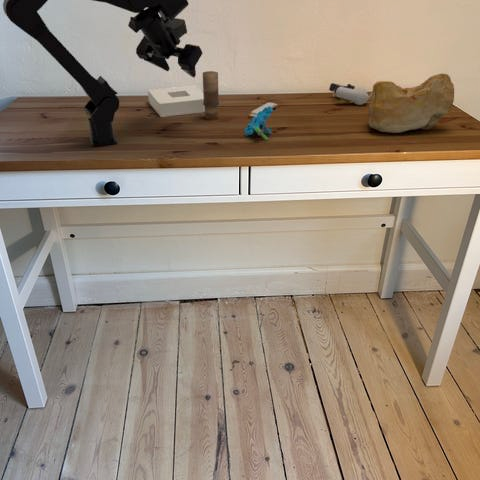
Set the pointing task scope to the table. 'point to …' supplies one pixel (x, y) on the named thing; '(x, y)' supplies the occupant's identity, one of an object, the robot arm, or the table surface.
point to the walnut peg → (210, 94)
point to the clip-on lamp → (350, 93)
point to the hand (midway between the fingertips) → (181, 73)
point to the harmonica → (255, 112)
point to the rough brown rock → (410, 104)
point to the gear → (259, 123)
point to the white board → (177, 100)
